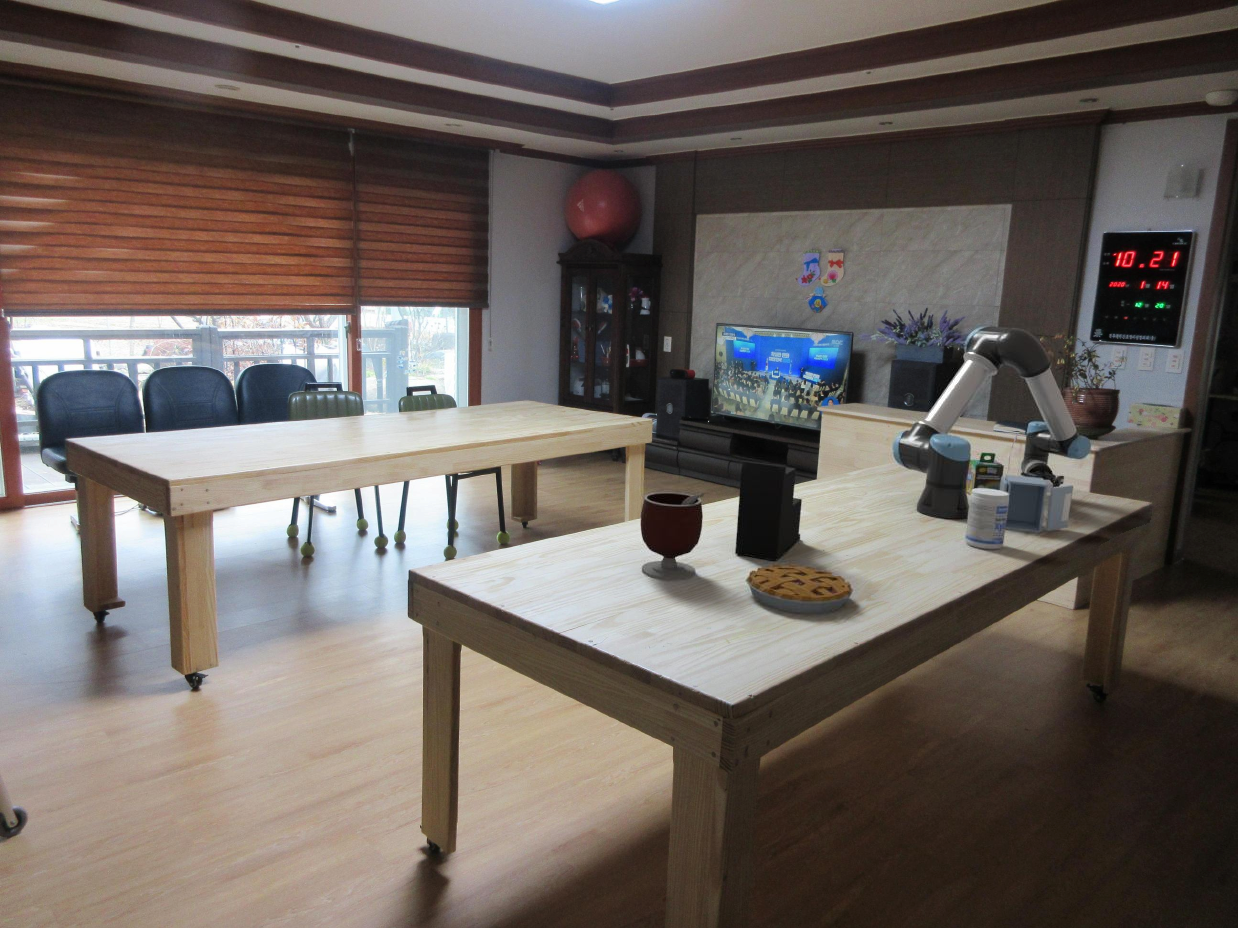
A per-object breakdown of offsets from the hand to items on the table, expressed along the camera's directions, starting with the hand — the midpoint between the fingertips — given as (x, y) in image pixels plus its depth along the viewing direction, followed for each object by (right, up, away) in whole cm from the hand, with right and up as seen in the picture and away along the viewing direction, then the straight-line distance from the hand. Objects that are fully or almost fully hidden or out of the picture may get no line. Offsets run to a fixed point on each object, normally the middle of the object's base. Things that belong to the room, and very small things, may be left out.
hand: (1049, 488), depth 269 cm
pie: (-93, -21, -80) cm, 124 cm away
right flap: (-5, -11, -14) cm, 19 cm away
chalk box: (-8, -3, +30) cm, 31 cm away
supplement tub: (-33, -14, -32) cm, 49 cm away
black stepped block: (-92, -14, -43) cm, 103 cm away
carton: (-14, -11, -10) cm, 20 cm away
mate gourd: (-119, -17, -67) cm, 138 cm away
